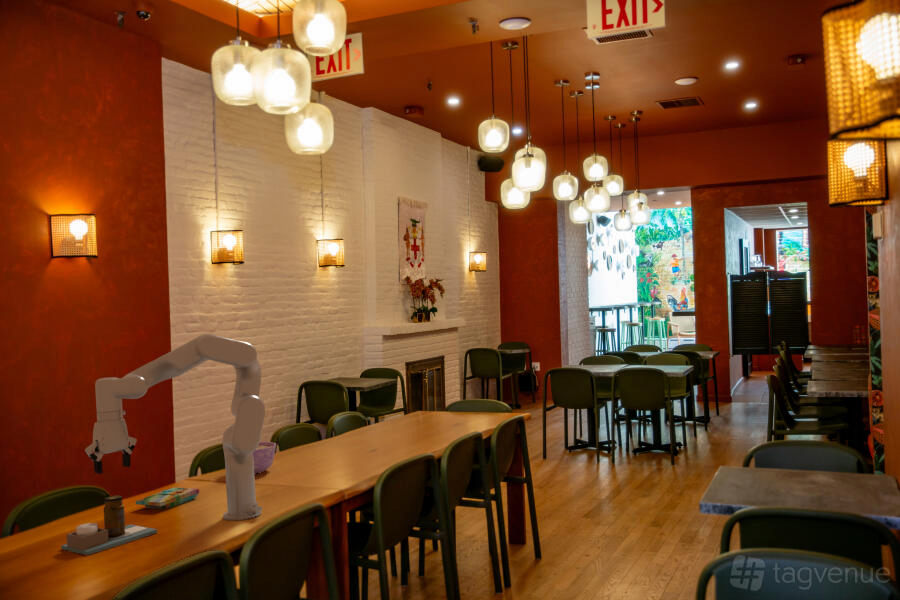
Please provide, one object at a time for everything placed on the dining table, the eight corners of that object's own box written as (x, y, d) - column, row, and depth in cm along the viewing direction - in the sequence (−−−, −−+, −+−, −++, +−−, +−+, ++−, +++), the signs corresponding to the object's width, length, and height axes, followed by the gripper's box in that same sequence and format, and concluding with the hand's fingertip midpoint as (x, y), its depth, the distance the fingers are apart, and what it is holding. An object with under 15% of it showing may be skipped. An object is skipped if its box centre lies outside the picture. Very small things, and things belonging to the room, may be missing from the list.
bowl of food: (221, 477, 327) (220, 450, 327) (244, 467, 346) (243, 441, 346) (264, 478, 322) (262, 450, 322) (285, 467, 341) (284, 441, 341)
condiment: (121, 530, 249) (119, 493, 249) (133, 534, 243) (131, 496, 243) (98, 536, 244) (96, 498, 244) (110, 540, 238) (108, 502, 238)
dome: (102, 534, 237) (101, 524, 237) (83, 540, 232) (83, 529, 232) (91, 532, 240) (90, 522, 240) (72, 537, 235) (72, 527, 235)
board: (157, 533, 248) (156, 517, 248) (87, 555, 228) (86, 539, 228) (131, 527, 256) (130, 513, 256) (61, 549, 236) (60, 533, 236)
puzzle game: (199, 486, 292) (159, 500, 274) (199, 499, 292) (160, 513, 274) (175, 485, 297) (135, 498, 279) (176, 497, 297) (136, 511, 279)
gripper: (127, 411, 253) (130, 463, 253) (77, 420, 239) (80, 475, 239) (141, 412, 249) (144, 465, 249) (91, 421, 234) (94, 477, 234)
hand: (112, 469), depth 244 cm, fingers open, 9 cm apart
